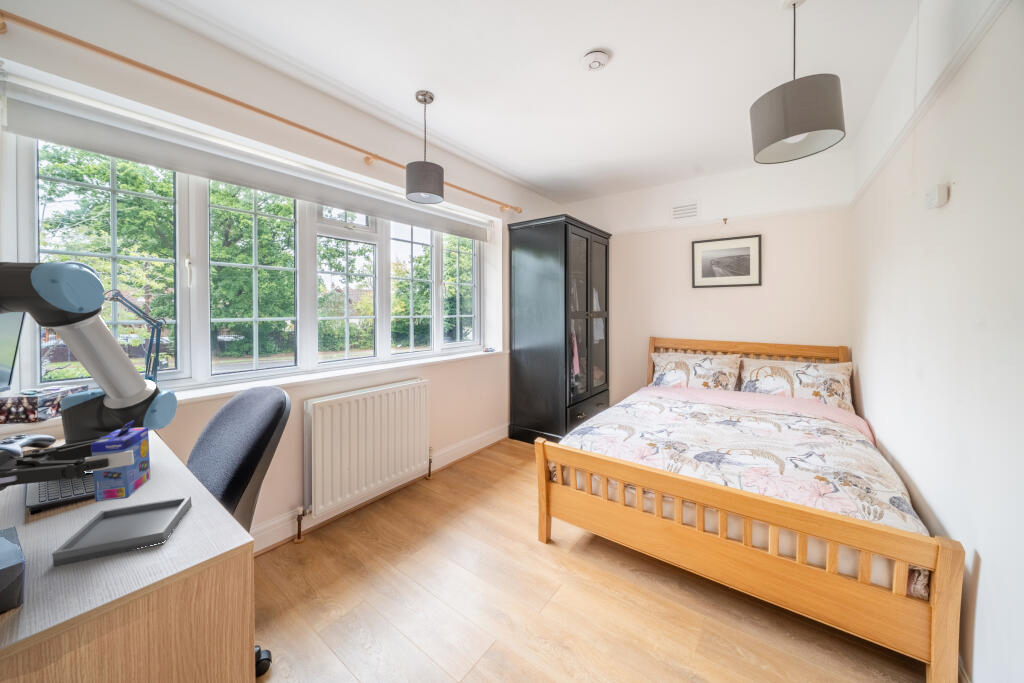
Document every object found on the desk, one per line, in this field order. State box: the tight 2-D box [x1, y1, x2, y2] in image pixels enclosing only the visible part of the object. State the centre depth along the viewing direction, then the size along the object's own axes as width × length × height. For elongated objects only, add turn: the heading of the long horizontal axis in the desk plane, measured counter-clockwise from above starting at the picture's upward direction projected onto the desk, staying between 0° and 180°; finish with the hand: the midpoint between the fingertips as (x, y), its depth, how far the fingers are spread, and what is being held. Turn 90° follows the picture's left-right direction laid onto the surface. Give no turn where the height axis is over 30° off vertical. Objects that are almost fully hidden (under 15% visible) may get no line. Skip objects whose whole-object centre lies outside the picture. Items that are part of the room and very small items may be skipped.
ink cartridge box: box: [91, 420, 151, 502], centre depth 79 cm, size 10×6×14 cm, turn 23°
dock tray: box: [51, 495, 192, 567], centre depth 81 cm, size 16×16×2 cm
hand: (139, 448), depth 81 cm, fingers closed on ink cartridge box, 10 cm apart
